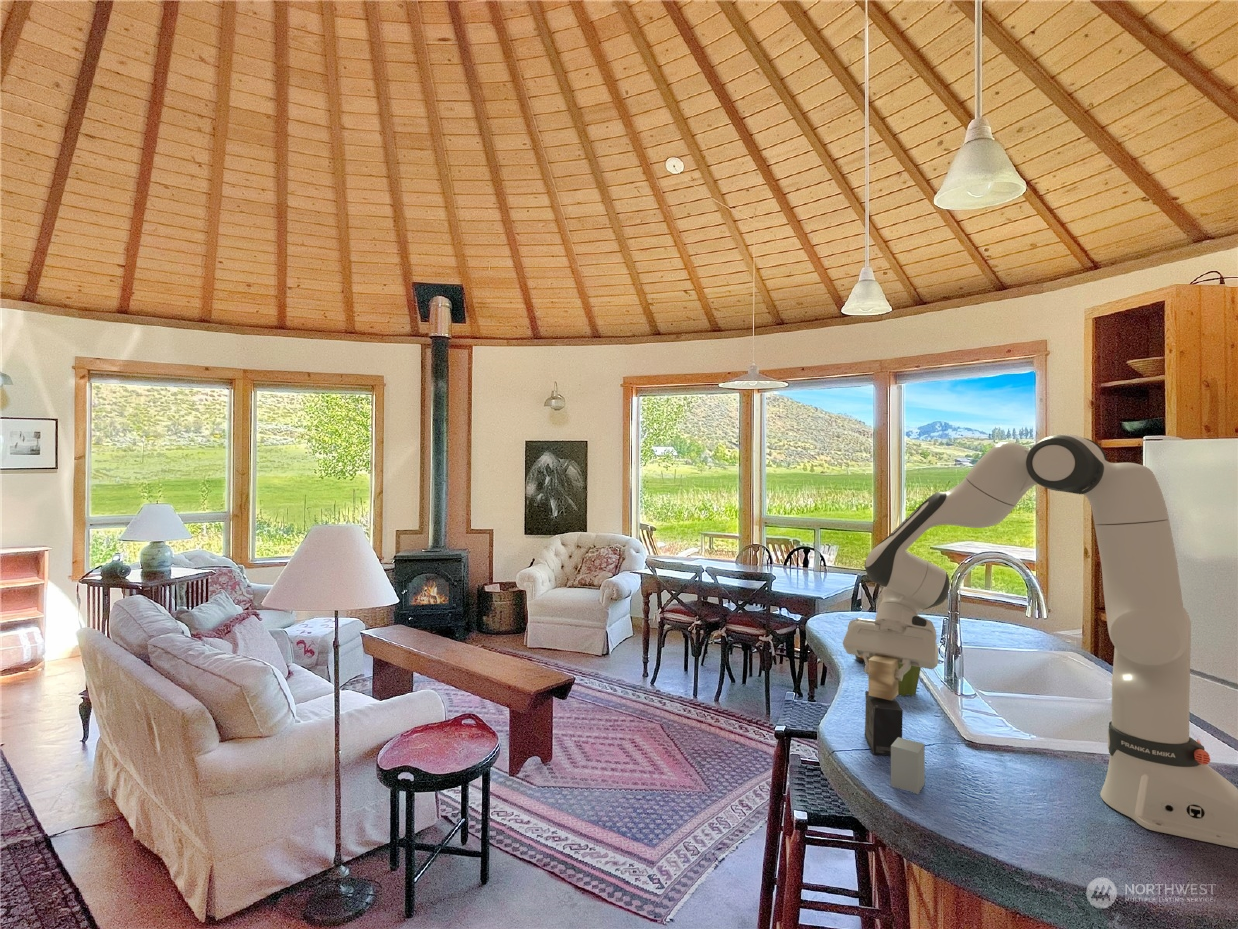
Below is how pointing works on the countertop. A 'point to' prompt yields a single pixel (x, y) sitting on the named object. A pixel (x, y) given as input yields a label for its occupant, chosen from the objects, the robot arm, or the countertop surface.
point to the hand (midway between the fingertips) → (882, 676)
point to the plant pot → (909, 681)
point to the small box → (882, 723)
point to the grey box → (908, 765)
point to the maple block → (883, 677)
